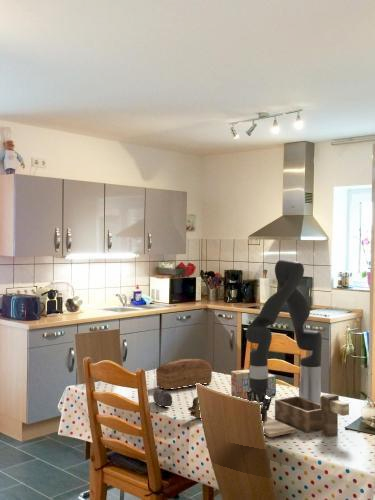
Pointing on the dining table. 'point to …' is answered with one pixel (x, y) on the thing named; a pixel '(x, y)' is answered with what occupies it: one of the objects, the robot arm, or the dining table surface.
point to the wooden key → (338, 407)
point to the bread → (183, 373)
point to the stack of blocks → (242, 383)
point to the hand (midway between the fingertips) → (258, 419)
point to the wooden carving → (195, 408)
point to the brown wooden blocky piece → (308, 414)
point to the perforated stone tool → (162, 398)
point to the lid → (275, 427)
